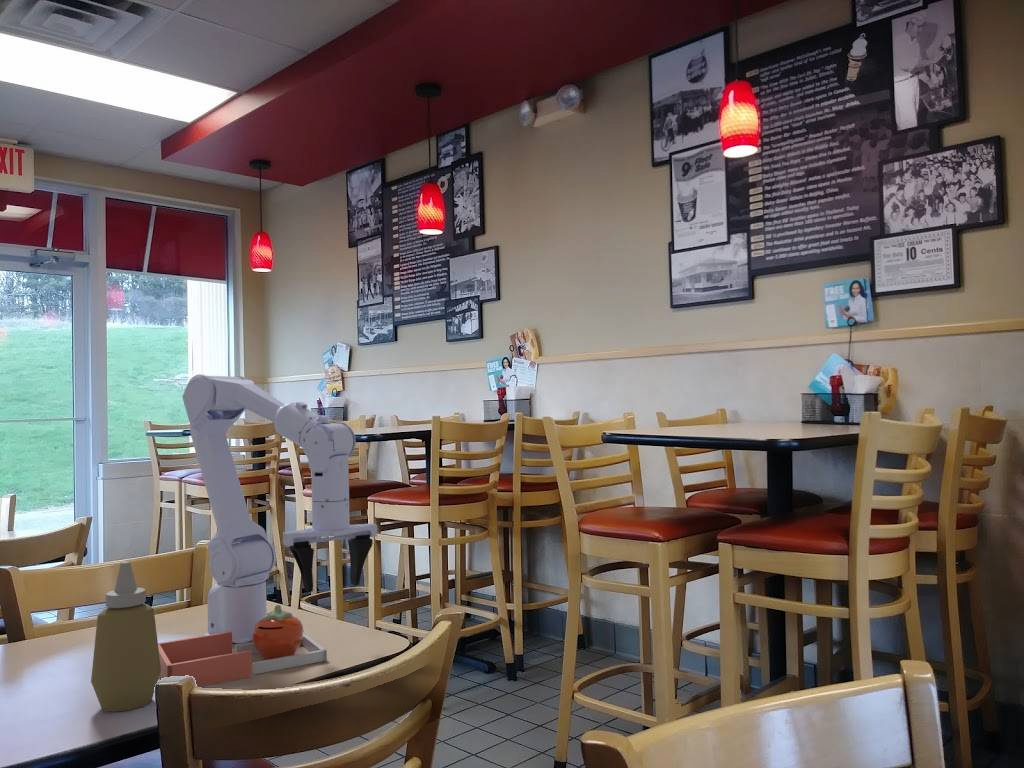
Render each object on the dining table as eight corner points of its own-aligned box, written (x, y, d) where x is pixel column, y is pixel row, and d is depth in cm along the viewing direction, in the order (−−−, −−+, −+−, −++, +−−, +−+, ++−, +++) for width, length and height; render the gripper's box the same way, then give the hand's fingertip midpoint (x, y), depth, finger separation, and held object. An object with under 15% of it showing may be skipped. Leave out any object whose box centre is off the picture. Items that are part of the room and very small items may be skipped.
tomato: (243, 665, 116) (242, 610, 117) (266, 650, 124) (265, 598, 124) (291, 666, 115) (291, 610, 116) (311, 651, 123) (310, 599, 123)
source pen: (304, 642, 127) (304, 633, 127) (326, 660, 118) (326, 650, 118) (235, 654, 122) (235, 645, 122) (253, 674, 112) (253, 663, 112)
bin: (231, 654, 122) (231, 631, 122) (251, 676, 111) (250, 651, 111) (154, 667, 117) (154, 643, 117) (167, 692, 106) (167, 665, 106)
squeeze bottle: (107, 695, 105) (106, 558, 106) (170, 691, 106) (168, 555, 107) (79, 718, 97) (78, 570, 98) (147, 714, 98) (146, 567, 99)
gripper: (291, 506, 118) (293, 598, 117) (383, 498, 125) (385, 585, 125) (278, 502, 124) (280, 590, 123) (367, 495, 131) (369, 578, 131)
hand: (332, 587), depth 124 cm, fingers open, 7 cm apart
